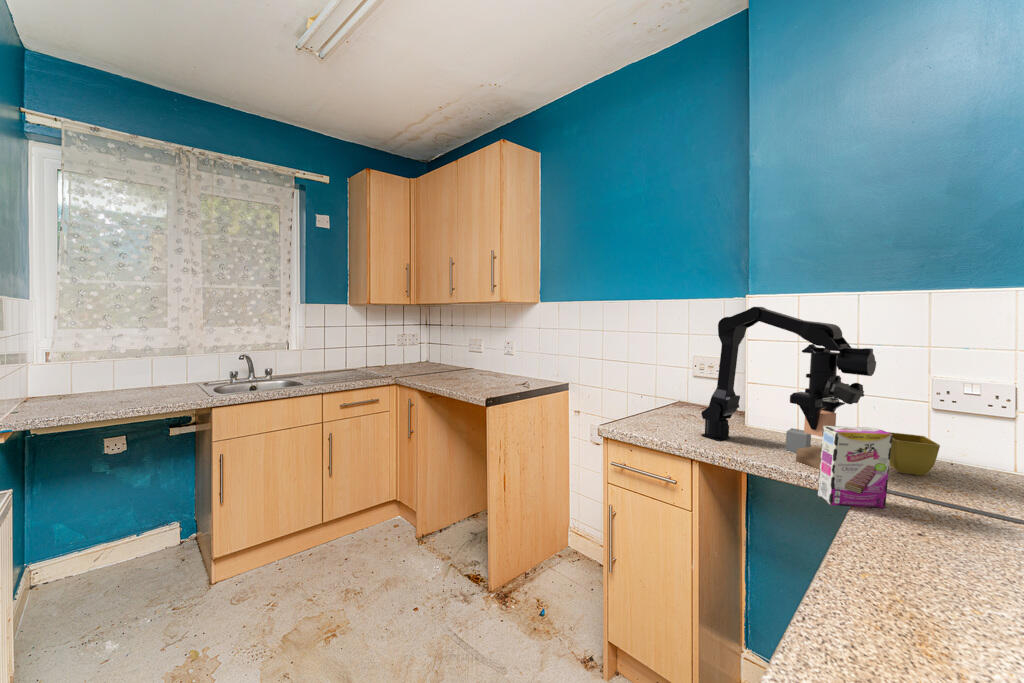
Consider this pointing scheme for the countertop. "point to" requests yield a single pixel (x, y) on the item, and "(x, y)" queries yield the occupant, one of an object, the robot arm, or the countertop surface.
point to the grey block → (797, 440)
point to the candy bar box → (854, 466)
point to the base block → (809, 456)
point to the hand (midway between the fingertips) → (819, 428)
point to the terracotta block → (821, 423)
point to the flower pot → (912, 453)
